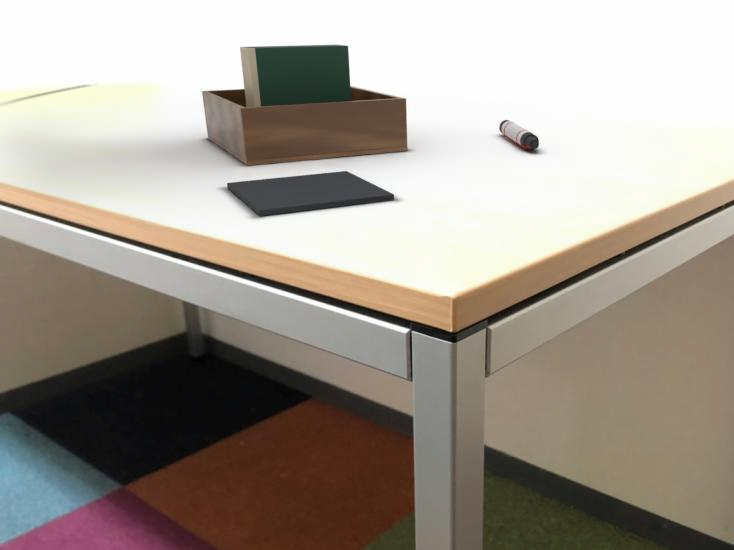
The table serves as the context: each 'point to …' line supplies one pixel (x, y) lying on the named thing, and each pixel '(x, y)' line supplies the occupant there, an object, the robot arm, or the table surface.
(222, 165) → the table surface
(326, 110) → the box
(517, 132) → the marker
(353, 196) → the mat
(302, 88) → the book
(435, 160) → the table surface
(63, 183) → the table surface
